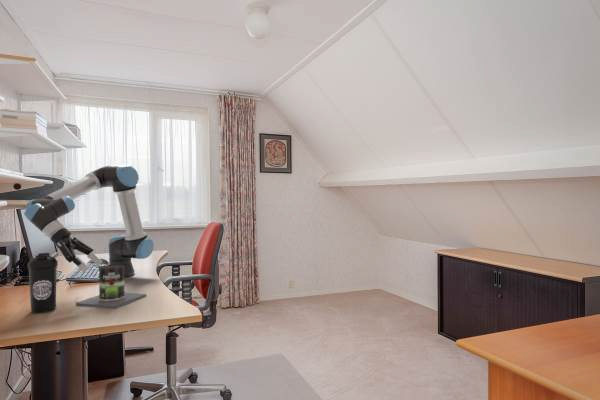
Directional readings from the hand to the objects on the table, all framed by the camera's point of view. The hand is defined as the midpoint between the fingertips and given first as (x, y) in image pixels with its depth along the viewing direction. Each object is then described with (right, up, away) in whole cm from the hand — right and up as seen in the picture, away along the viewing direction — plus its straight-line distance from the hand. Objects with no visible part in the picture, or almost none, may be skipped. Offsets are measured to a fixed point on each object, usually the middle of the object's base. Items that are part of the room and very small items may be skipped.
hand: (93, 266), depth 171 cm
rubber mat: (+8, -15, +1) cm, 17 cm away
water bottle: (-14, -16, -13) cm, 24 cm away
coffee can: (+7, -14, +1) cm, 16 cm away
